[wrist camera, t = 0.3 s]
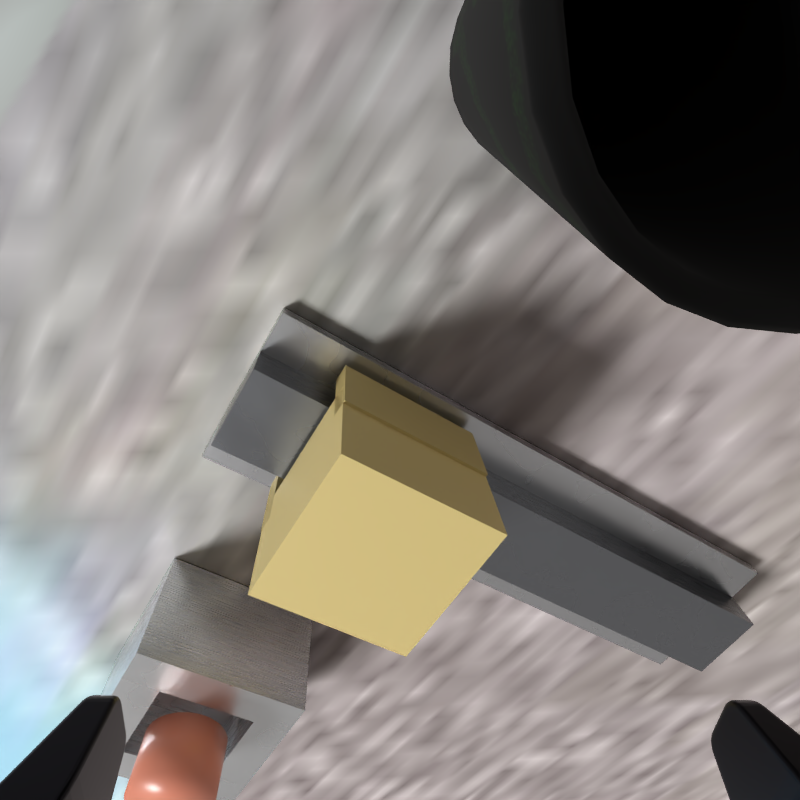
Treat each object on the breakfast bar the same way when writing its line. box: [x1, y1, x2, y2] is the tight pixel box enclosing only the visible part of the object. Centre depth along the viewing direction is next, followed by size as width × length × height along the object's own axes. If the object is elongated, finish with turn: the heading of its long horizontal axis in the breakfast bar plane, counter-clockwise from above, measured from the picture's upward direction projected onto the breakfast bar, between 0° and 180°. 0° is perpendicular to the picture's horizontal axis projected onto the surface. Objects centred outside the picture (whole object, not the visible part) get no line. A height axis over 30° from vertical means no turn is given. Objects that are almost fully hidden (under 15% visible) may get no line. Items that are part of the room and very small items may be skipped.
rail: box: [202, 308, 758, 671], centre depth 22 cm, size 22×6×2 cm, turn 58°
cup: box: [450, 0, 800, 334], centre depth 11 cm, size 8×8×12 cm
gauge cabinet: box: [101, 558, 312, 800], centre depth 23 cm, size 6×6×4 cm
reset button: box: [124, 712, 228, 800], centre depth 20 cm, size 3×3×2 cm
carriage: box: [248, 365, 507, 657], centre depth 18 cm, size 5×5×5 cm
